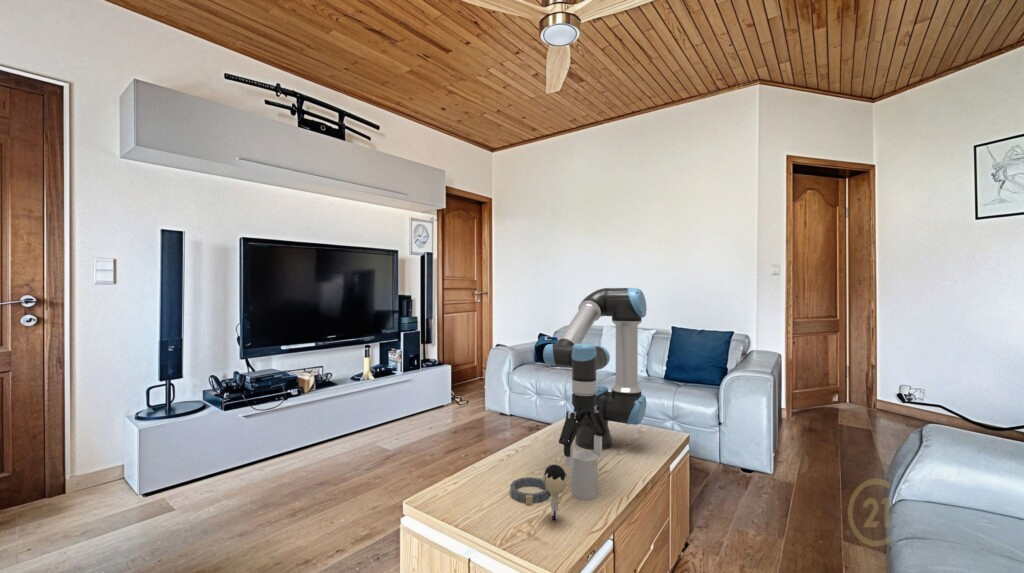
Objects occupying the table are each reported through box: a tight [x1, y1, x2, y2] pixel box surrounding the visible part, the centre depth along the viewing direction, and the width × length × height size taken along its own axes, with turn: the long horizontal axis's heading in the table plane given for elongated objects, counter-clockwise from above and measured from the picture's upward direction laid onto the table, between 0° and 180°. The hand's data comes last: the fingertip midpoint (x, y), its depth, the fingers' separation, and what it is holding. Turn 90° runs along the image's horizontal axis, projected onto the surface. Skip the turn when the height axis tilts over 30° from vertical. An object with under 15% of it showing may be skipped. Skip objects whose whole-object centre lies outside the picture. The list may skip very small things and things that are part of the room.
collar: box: [509, 476, 551, 506], centre depth 137 cm, size 12×12×2 cm
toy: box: [542, 464, 568, 521], centre depth 122 cm, size 9×7×15 cm
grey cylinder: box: [570, 450, 599, 501], centre depth 137 cm, size 8×8×12 cm
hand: (583, 461), depth 137 cm, fingers open, 13 cm apart
